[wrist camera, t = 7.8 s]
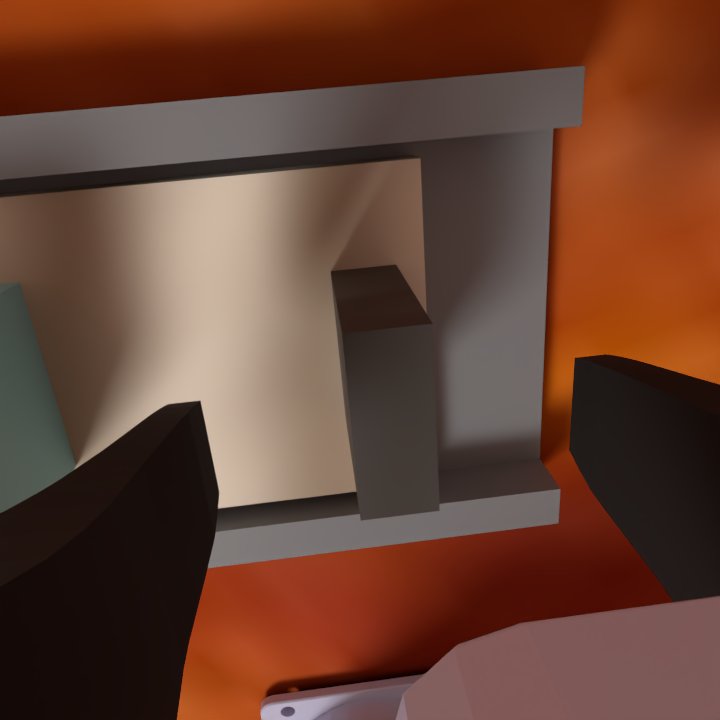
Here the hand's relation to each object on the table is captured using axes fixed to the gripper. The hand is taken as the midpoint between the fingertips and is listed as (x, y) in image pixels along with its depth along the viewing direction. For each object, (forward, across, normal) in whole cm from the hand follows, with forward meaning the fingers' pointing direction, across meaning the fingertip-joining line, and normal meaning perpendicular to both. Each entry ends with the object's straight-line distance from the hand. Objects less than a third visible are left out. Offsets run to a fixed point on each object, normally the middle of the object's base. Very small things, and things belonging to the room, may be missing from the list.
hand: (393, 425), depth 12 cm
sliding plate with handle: (+5, +7, 0) cm, 9 cm away
